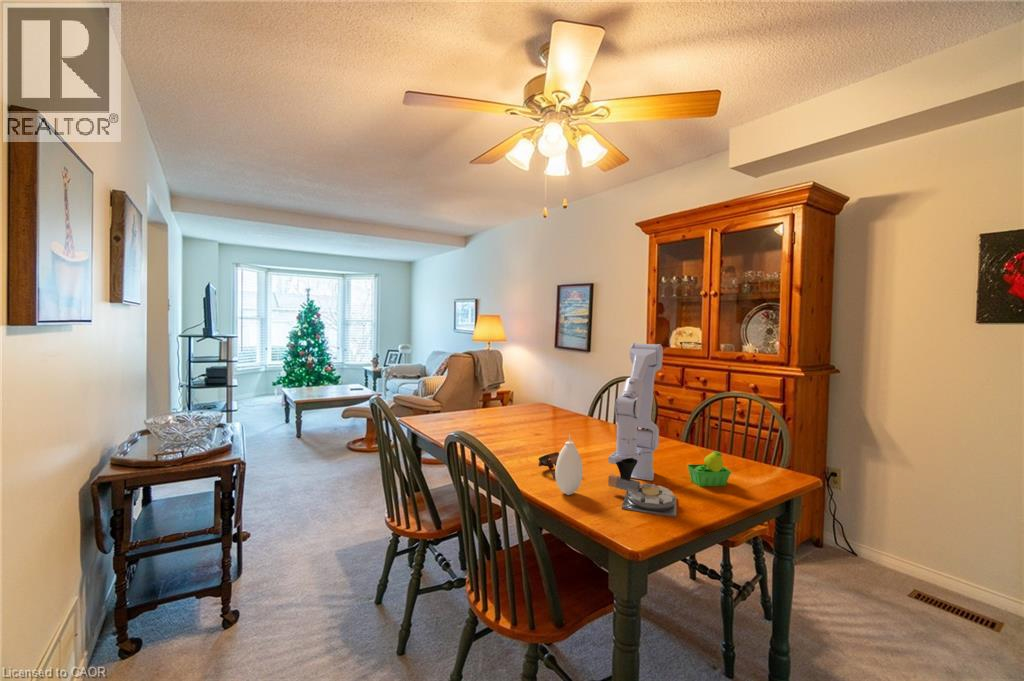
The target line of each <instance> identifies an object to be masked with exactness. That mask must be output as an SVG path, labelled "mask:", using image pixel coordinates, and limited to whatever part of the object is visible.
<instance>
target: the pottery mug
mask: <svg viewBox="0 0 1024 681" xmlns="http://www.w3.org/2000/svg"><path fill="white" fill-rule="evenodd" d="M559 454H560V452H559V451H555V452H551V453H548V454H545V455H543V456H539V457H538V467H539V468H540V467H543V466H544V467H547V468H548V469H549V470H552V469H554V468H555V467H556V463H557V459H558V456H559ZM551 475H552V478H553V479H556V477H555V470H553V471H551Z"/></svg>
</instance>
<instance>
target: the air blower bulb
mask: <svg viewBox="0 0 1024 681" xmlns="http://www.w3.org/2000/svg"><path fill="white" fill-rule="evenodd" d="M571 439H572V438H571V434H569V436H568V441H566V442H565V443H564V446H562V448H561V450H560V452H559V456H558V459H557V463H556V466H555V470H554V471H555V477H556V478H555V482H556V485H557V487H558V489H559V490H560V491H561V492H562V493H563V494H565V495H566V496H570V495H573V494H575V492H577V491H578V490H579V489H580V486H581V483H582V479H583V464H582V463H583V462H582V459H581V456H580V453H579V450H578V449H577V447H576V446H575V443H574V441H572V440H571Z"/></svg>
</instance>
